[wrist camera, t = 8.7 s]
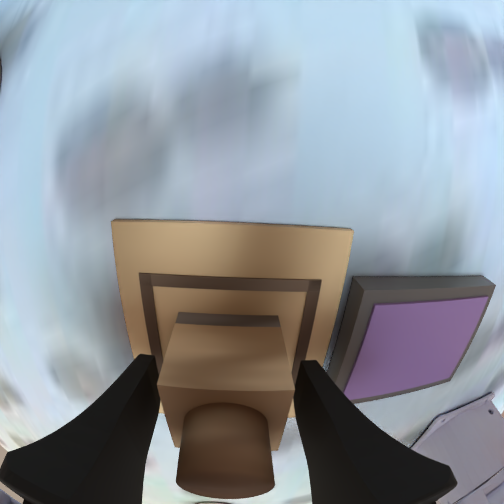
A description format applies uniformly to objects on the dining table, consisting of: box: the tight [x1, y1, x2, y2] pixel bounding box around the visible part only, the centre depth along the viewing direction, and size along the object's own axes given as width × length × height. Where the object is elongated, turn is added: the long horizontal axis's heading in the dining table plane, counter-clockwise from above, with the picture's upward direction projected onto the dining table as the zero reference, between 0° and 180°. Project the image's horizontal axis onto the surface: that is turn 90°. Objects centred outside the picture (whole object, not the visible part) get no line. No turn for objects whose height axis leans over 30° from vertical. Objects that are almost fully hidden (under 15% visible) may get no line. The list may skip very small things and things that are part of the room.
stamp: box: [157, 312, 295, 499], centre depth 9 cm, size 4×4×6 cm
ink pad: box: [327, 276, 496, 404], centre depth 12 cm, size 9×7×1 cm
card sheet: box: [111, 219, 354, 418], centre depth 12 cm, size 9×11×1 cm
